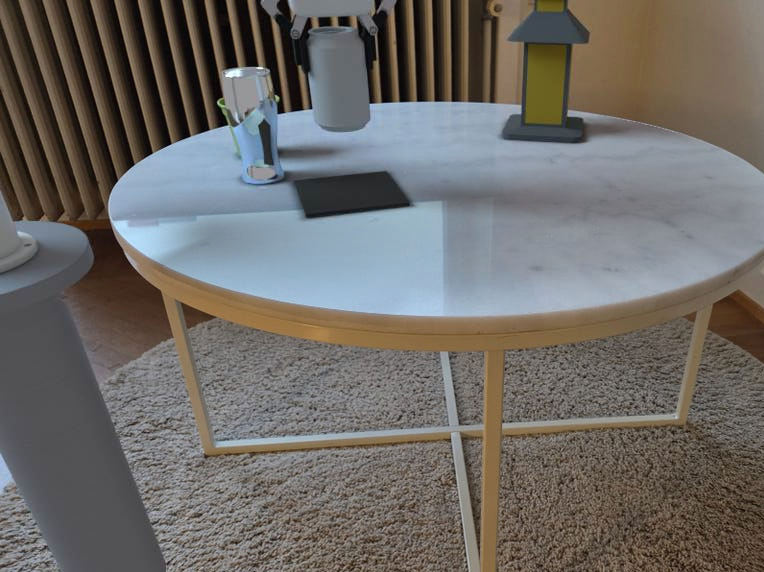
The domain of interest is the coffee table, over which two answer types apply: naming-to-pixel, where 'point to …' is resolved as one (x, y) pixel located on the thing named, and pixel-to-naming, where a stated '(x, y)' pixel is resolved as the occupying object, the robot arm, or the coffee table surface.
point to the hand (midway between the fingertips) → (337, 68)
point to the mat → (349, 193)
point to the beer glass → (253, 122)
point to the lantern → (547, 74)
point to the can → (338, 79)
